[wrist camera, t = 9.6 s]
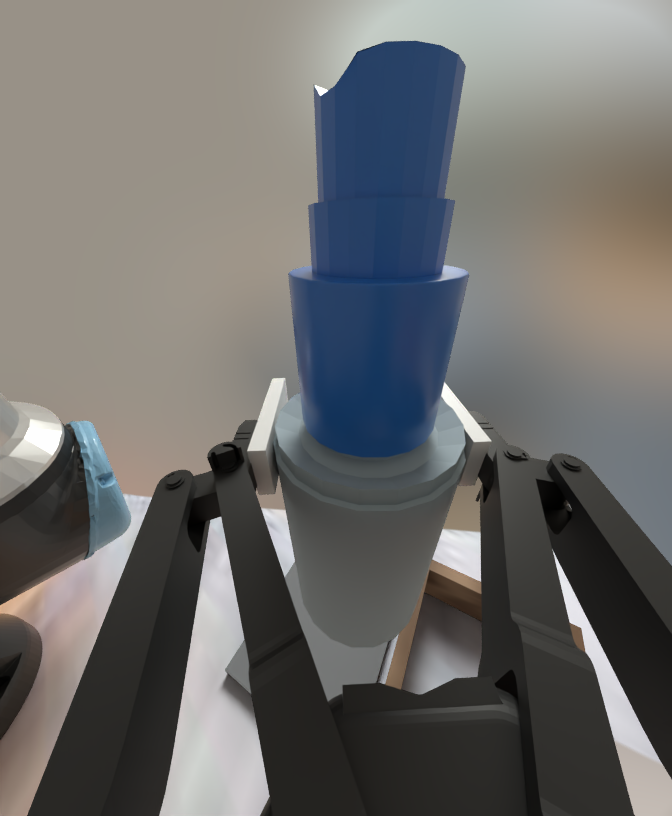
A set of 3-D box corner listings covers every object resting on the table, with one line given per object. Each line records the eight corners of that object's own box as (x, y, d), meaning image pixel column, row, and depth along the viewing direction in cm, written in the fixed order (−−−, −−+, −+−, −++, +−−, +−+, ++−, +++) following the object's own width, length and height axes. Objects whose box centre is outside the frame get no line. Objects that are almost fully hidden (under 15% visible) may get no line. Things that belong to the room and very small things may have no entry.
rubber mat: (227, 673, 26) (224, 670, 26) (311, 541, 37) (310, 537, 37) (346, 781, 21) (346, 780, 20) (403, 590, 32) (404, 586, 31)
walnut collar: (370, 739, 22) (373, 727, 20) (415, 576, 33) (420, 554, 30) (588, 914, 17) (635, 933, 14) (557, 647, 27) (581, 628, 24)
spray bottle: (374, 505, 25) (410, 142, 12) (445, 602, 19) (723, 17, 5) (283, 547, 22) (188, 111, 8) (330, 683, 15) (235, -366, 2)
